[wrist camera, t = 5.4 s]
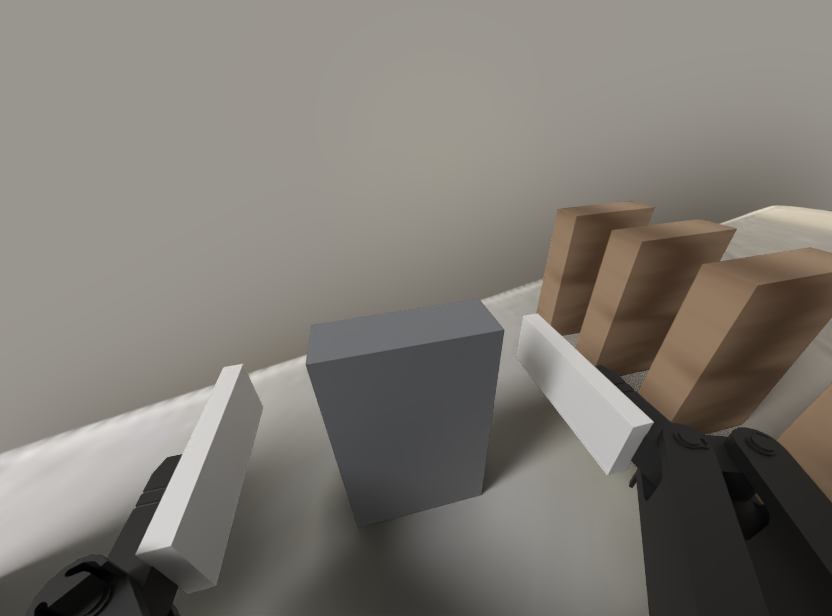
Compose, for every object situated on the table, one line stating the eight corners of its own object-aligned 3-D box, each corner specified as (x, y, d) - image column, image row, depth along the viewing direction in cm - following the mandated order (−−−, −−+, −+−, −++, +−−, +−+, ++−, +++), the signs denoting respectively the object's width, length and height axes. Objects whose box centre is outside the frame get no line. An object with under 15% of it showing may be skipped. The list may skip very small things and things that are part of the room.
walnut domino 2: (639, 349, 23) (699, 219, 18) (663, 366, 21) (736, 228, 16) (570, 363, 22) (611, 229, 17) (589, 382, 20) (642, 241, 15)
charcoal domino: (466, 457, 16) (479, 298, 11) (481, 494, 15) (504, 329, 9) (355, 484, 15) (311, 324, 10) (358, 527, 14) (305, 364, 8)
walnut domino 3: (706, 398, 19) (810, 247, 14) (742, 424, 17) (876, 264, 12) (624, 418, 18) (702, 264, 13) (654, 447, 16) (758, 285, 11)
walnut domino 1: (593, 314, 27) (630, 201, 22) (610, 326, 26) (654, 207, 20) (534, 325, 26) (557, 208, 21) (547, 338, 25) (576, 215, 19)
